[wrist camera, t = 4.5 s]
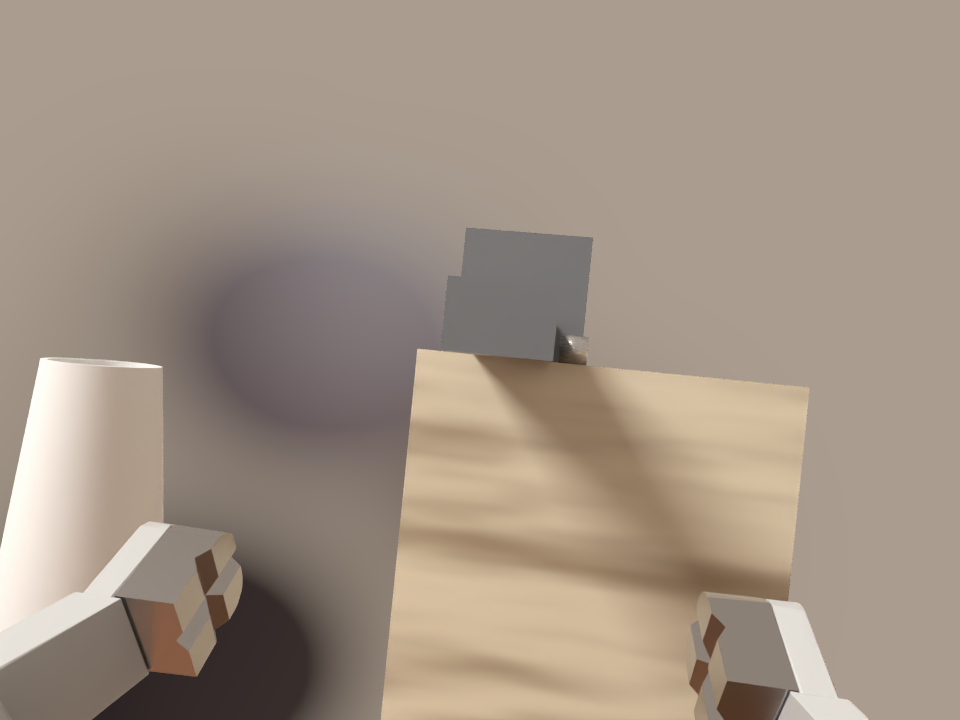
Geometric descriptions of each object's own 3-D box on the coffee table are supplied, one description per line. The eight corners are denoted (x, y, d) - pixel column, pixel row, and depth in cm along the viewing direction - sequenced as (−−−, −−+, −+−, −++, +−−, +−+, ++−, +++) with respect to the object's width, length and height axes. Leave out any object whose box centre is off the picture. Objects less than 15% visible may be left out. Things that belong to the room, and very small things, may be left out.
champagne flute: (137, 819, 33) (182, 364, 33) (136, 928, 27) (190, 373, 27) (-24, 857, 30) (25, 353, 29) (-66, 990, 24) (-5, 360, 24)
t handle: (610, 366, 16) (633, 137, 16) (385, 344, 17) (407, 122, 17) (576, 365, 32) (588, 249, 32) (461, 353, 33) (473, 239, 33)
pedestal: (739, 1074, 23) (813, 356, 23) (353, 994, 25) (420, 318, 25) (689, 894, 31) (743, 357, 31) (399, 842, 33) (449, 329, 33)
